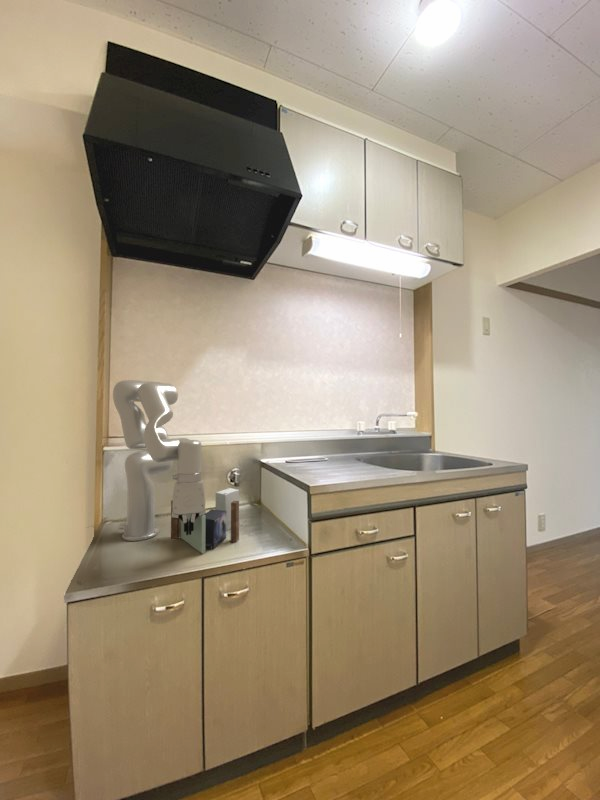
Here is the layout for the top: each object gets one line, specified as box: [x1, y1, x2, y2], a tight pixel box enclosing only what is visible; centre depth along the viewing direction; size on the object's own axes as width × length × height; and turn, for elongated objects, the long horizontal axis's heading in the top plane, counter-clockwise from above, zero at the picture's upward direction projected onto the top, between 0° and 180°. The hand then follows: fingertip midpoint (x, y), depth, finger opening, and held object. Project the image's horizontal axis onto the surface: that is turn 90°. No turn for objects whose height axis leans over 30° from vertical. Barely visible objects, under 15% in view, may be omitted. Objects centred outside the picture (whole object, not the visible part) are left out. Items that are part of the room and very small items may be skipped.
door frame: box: [170, 499, 240, 543], centre depth 121 cm, size 25×3×14 cm, turn 83°
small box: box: [203, 508, 227, 550], centre depth 117 cm, size 11×6×10 cm, turn 169°
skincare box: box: [215, 487, 240, 532], centre depth 133 cm, size 8×6×15 cm
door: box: [180, 514, 206, 554], centre depth 115 cm, size 19×3×12 cm, turn 41°
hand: (188, 533), depth 108 cm, fingers closed
